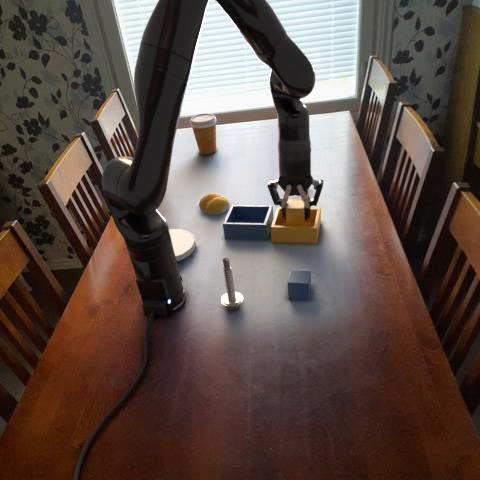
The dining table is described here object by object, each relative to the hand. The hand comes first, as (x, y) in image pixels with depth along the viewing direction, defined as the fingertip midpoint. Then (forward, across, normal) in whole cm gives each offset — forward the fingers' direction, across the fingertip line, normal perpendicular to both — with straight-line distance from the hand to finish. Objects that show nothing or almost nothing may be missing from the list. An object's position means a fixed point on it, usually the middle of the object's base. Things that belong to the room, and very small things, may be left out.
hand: (296, 218), depth 117 cm
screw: (+4, -10, -31) cm, 33 cm away
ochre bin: (+4, 0, 0) cm, 4 cm away
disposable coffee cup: (+4, -40, +54) cm, 67 cm away
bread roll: (+4, -26, +12) cm, 29 cm away
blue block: (+4, +4, -25) cm, 26 cm away
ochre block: (0, 0, 0) cm, 0 cm away
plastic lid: (+4, -32, -11) cm, 34 cm away
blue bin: (+4, -13, +1) cm, 14 cm away
